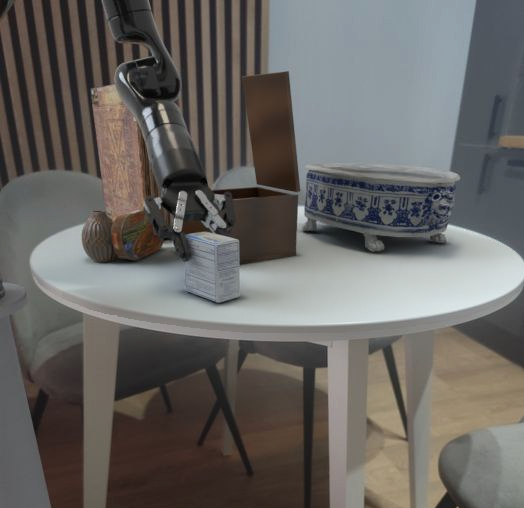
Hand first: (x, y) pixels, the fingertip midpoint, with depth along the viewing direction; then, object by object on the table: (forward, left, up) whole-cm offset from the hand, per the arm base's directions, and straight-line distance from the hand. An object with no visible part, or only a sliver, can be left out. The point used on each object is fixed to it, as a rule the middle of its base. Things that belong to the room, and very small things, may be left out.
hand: (207, 256), depth 72 cm
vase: (-10, +27, -6) cm, 30 cm away
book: (+4, +50, -6) cm, 50 cm away
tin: (-3, +27, -6) cm, 28 cm away
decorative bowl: (+48, +21, -6) cm, 53 cm away
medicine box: (0, -1, -6) cm, 6 cm away
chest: (+14, +20, -6) cm, 25 cm away
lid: (+21, +21, +16) cm, 34 cm away
